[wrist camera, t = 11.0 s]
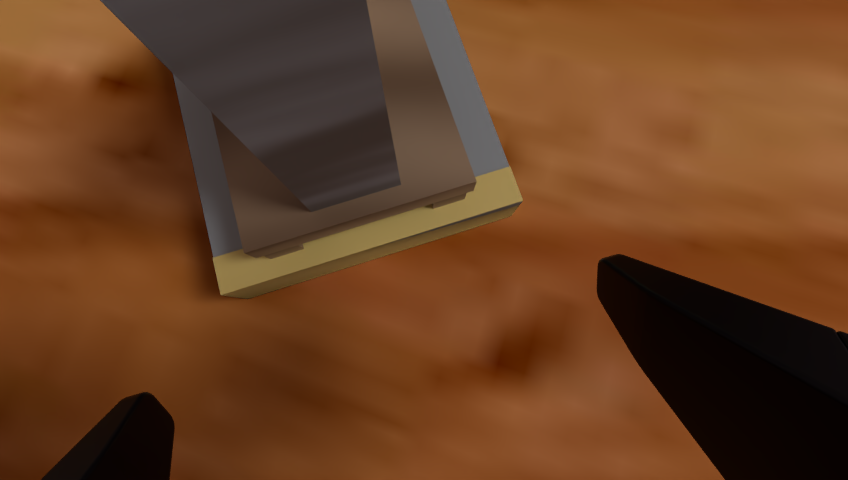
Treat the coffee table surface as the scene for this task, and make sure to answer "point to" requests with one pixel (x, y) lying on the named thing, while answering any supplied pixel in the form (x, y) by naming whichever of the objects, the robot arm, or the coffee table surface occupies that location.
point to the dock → (378, 238)
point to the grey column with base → (312, 109)
